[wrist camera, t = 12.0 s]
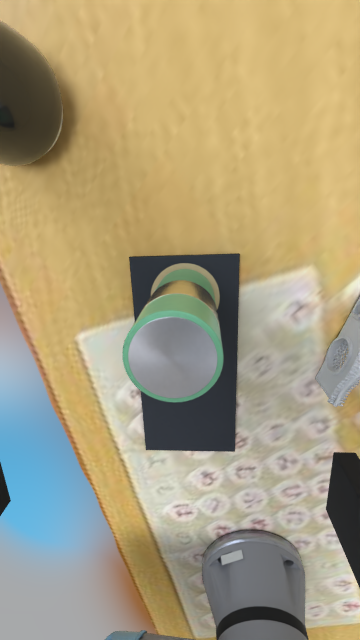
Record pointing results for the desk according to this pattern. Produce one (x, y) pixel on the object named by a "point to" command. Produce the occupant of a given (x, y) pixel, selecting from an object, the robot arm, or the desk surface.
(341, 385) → the garden wall model
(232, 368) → the mat
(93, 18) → the desk surface
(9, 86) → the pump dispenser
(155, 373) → the can
